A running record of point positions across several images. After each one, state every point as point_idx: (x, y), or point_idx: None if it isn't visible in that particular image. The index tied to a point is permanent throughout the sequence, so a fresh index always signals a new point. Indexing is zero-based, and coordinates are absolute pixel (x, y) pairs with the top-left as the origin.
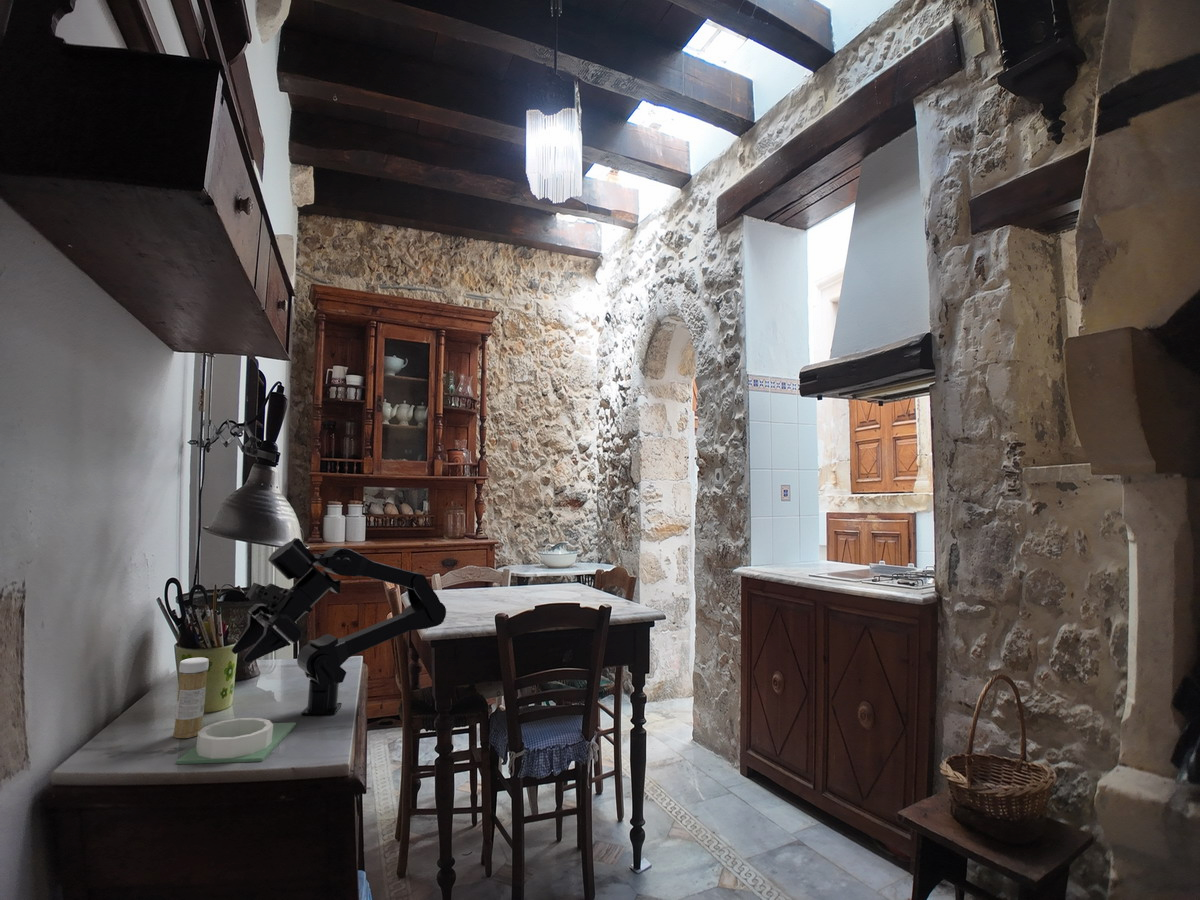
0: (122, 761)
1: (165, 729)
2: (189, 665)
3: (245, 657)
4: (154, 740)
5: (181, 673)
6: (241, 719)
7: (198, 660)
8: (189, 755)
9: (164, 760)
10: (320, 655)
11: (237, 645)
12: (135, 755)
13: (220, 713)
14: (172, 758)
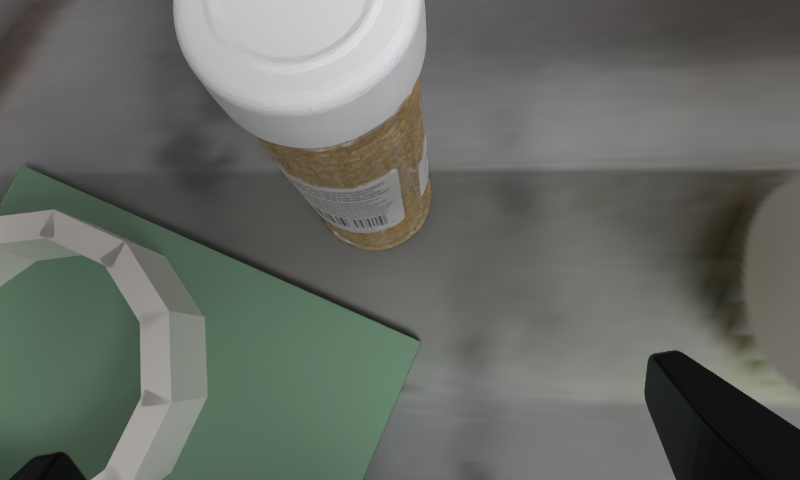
0: (170, 8)
1: (505, 114)
2: None
3: (10, 478)
4: None
5: None
6: (143, 408)
7: (250, 20)
8: (56, 205)
9: (98, 131)
10: None
11: (696, 427)
12: None
13: (677, 338)
14: (104, 155)
